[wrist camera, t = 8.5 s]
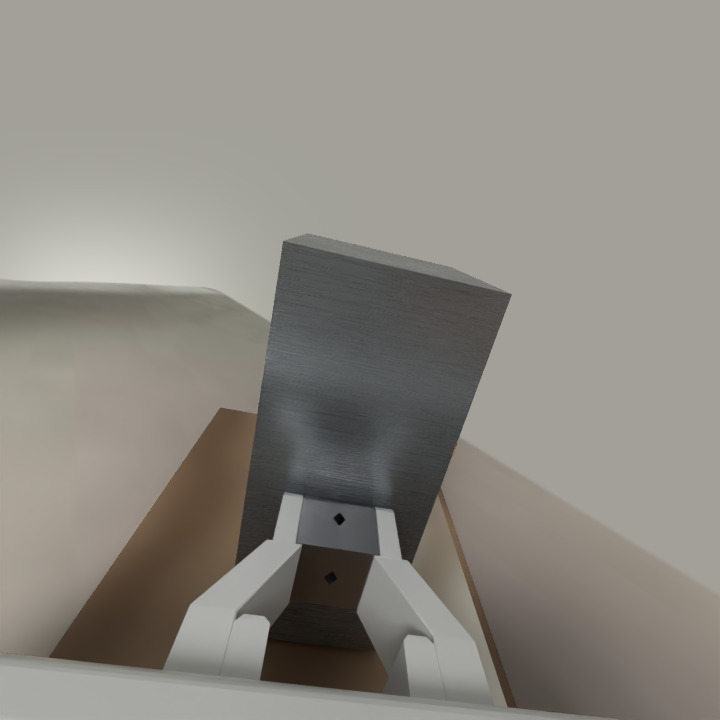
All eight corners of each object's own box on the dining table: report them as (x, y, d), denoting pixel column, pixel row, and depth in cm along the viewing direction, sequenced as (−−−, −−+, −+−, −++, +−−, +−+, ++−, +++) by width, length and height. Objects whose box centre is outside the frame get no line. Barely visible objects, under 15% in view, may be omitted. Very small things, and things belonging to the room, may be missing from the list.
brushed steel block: (224, 633, 12) (283, 241, 8) (280, 449, 21) (319, 230, 17) (379, 651, 12) (511, 294, 8) (365, 463, 21) (424, 255, 17)
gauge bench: (-456, 1494, 4) (-1460, 1728, 1) (218, 427, 25) (230, 320, 22) (689, 1376, 5) (1183, 1382, 3) (419, 462, 26) (452, 366, 24)
